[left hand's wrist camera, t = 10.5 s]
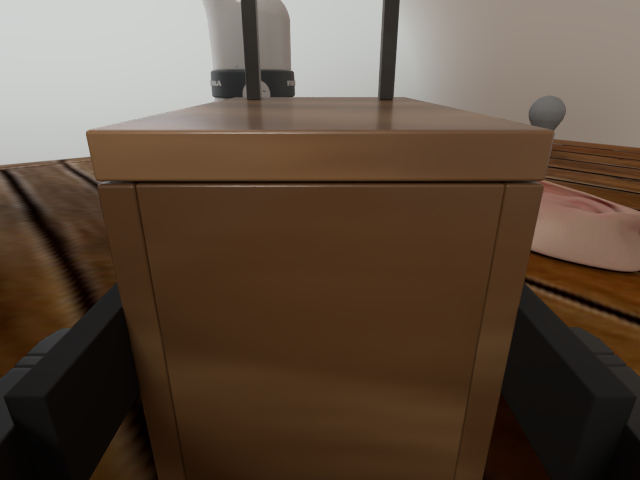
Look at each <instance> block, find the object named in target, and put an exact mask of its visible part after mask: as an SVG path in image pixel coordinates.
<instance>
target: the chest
mask: <svg viewBox="0 0 640 480" xmlns="http://www.w3.org/2000/svg"><path fill="white" fill-rule="evenodd" d="M97 189H98V194H99V198H100V203H101V208H102V213H103V217H104V222H105V227H106V232H107V237H108V241H109V246H110V251H111V256H112V260H113V265H114V270H115V275H116V279H117V284H118V289H119V294H120V298H121V303H122V308H123V313H124V317H125V322H126V327H127V332H128V337H129V341H130V346H131V351H132V356H133V360H134V365H135V370H136V375H137V379H138V384H139V389H140V394H141V398H142V403H143V408H144V413H145V417H146V422H147V427H148V432H149V436H150V441H151V446H152V451H153V456H154V460H155V465H156V470H157V475H158V479H159V480H482V479H483V474H484V469H485V464H486V460H487V455H488V450H489V445H490V441H491V436H492V431H493V426H494V422H495V417H496V412H497V407H498V403H499V398H500V393H501V387H502V382H503V378H504V373H505V368H506V364H507V359H508V354H509V349H510V345H511V340H512V335H513V330H514V326H515V321H516V316H517V311H518V307H519V303H520V299H521V294H522V289H523V284H524V280H525V275H526V270H527V265H528V261H529V256H530V251H531V246H532V242H533V237H534V232H535V227H536V223H537V218H538V213H539V208H540V204H541V199H542V194H543V190H544V185H543V184H541V183H539V182H537V181H105V182H103V183H101V184H99V185H98V187H97Z"/></svg>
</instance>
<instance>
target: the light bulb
mask: <svg viewBox="0 0 640 480" xmlns="http://www.w3.org/2000/svg"><path fill="white" fill-rule="evenodd" d="M565 112H566V109H565V105H564V103H563V102H562V100H560V99H559V98H557V97H554V96H545V97H542V98H540V99H538V100H537V101H536V102H535V103H534V104H533V105H532V106H531V108H530V110H529V120H530V123H531V125H532V126H537V127H541V128H546V129H550V130H553V131H554V130H555V128H556V127H557V126H558V125H559V124H560V122H561V121H562V120H563V118H564V116H565Z"/></svg>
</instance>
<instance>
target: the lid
mask: <svg viewBox="0 0 640 480" xmlns="http://www.w3.org/2000/svg"><path fill="white" fill-rule="evenodd" d="M399 2H400V0H383V12H382V31H381V51H380V71H379V91H378V97H262V88H261V68H260V49H259V29H258V9H257V0H241V16H242V31H243V47H244V63H245V78H246V94H247V97H235V98H230V99H226V100H221V101H217V102H212V103H208V104H203V105H199V106H194V107H190V108H185V109H181V110H176V111H172V112H167V113H163V114H158V115H154V116H149V117H144V118H140V119H135V120H131V121H126V122H122V123H118V124H113V125H108V126H104V127H99V128H95V129H91V130H88V131H87V132H86V136H87V141H88V146H89V150H90V155H91V160H92V165H93V170H94V174H95V178H96V180H97V181H543V180H544V179H545V177H546V172H547V167H548V163H549V158H550V153H551V148H552V144H553V139H554V131H553V130H550V129H546V128H541V127H537V126H532V125H528V124H523V123H519V122H514V121H510V120H505V119H500V118H496V117H491V116H487V115H482V114H478V113H473V112H469V111H464V110H460V109H455V108H451V107H446V106H441V105H437V104H432V103H428V102H423V101H419V100H414V99H410V98H405V97H393V95H394V80H395V64H396V49H397V33H398V17H399Z"/></svg>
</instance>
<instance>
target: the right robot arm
mask: <svg viewBox="0 0 640 480" xmlns="http://www.w3.org/2000/svg"><path fill="white" fill-rule="evenodd" d="M203 3H204V6H205V10H206V15H207V21H208V27H209V34H210V41H211V49H212V58H213V69H214V70H216V71H212V72H211V86H212V95H213V97H215V100H214V102H217V101H221V100H226V99H230V98H235V97H247V94H246V78H245V63H244V47H243V31H242V16H241V0H203ZM257 9H258V29H259V49H260V68H261V88H262V97H293V96H294V95H295V81H294V72H293V71H286V70H291V50H290V19H289V15H288V12H287V9H286V7H285V6H284V4H283V3H282V2H281V0H257Z"/></svg>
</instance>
